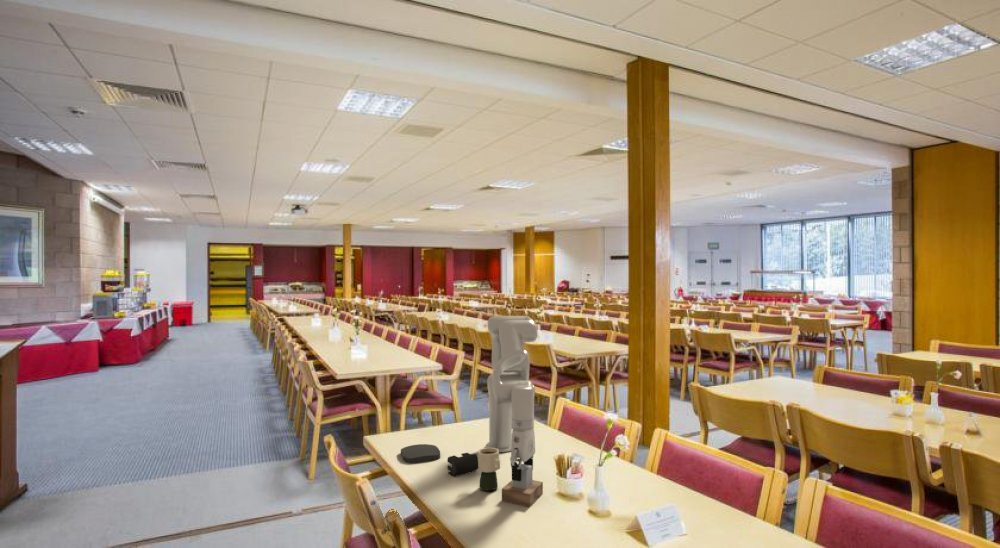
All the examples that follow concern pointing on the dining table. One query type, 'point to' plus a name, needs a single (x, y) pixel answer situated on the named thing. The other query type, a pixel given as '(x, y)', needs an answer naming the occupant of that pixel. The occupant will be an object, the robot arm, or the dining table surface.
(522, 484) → the grey block
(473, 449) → the dining table surface
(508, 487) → the block
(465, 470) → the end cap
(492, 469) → the character mug
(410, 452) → the media streaming box
